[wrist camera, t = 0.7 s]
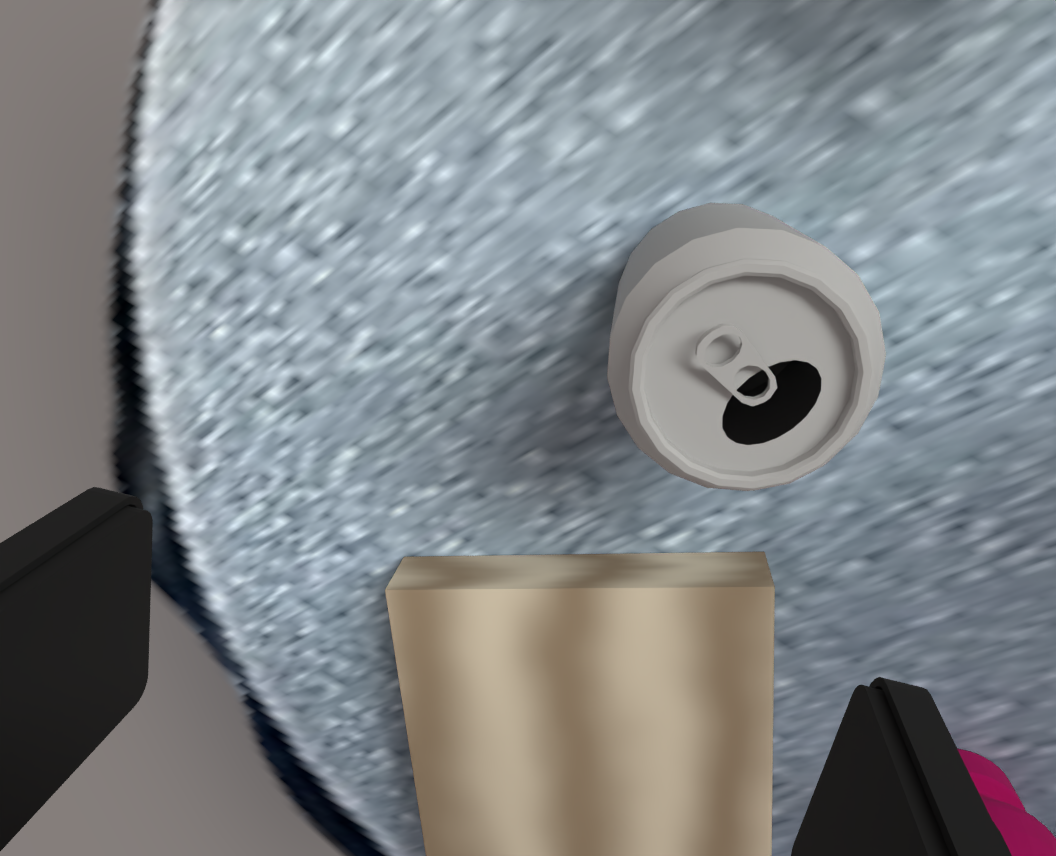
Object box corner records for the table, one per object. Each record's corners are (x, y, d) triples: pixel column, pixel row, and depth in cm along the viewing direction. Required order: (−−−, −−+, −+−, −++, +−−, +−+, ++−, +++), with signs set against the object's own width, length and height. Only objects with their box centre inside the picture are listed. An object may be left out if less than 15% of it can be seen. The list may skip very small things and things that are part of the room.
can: (699, 427, 34) (726, 566, 23) (578, 291, 33) (545, 368, 22) (853, 307, 32) (966, 397, 21) (729, 157, 31) (778, 167, 20)
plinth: (764, 551, 36) (774, 586, 33) (762, 845, 41) (770, 897, 38) (404, 556, 38) (385, 590, 35) (444, 833, 43) (430, 882, 40)
